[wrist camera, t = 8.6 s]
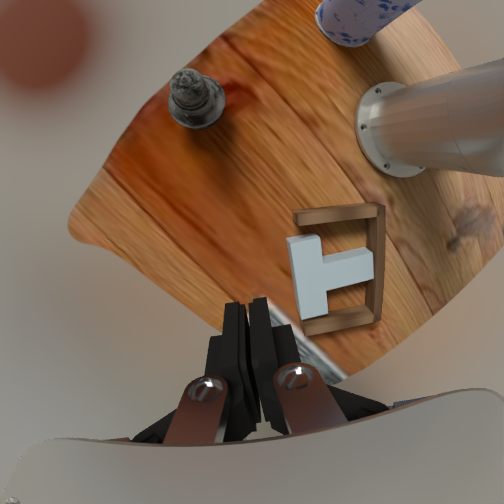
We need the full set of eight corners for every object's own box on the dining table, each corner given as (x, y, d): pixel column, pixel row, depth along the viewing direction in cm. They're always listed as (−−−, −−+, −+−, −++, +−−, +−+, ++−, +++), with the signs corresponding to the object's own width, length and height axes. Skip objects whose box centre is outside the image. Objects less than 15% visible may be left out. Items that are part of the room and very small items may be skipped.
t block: (297, 310, 38) (301, 319, 35) (286, 238, 35) (290, 243, 32) (366, 293, 38) (374, 300, 35) (362, 222, 35) (370, 226, 32)
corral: (300, 324, 38) (305, 336, 36) (292, 210, 34) (297, 215, 31) (371, 310, 39) (380, 320, 36) (373, 202, 34) (385, 205, 31)
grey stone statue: (208, 74, 28) (197, 31, 17) (236, 113, 30) (238, 86, 19) (165, 102, 29) (131, 74, 18) (192, 141, 31) (170, 130, 19)
